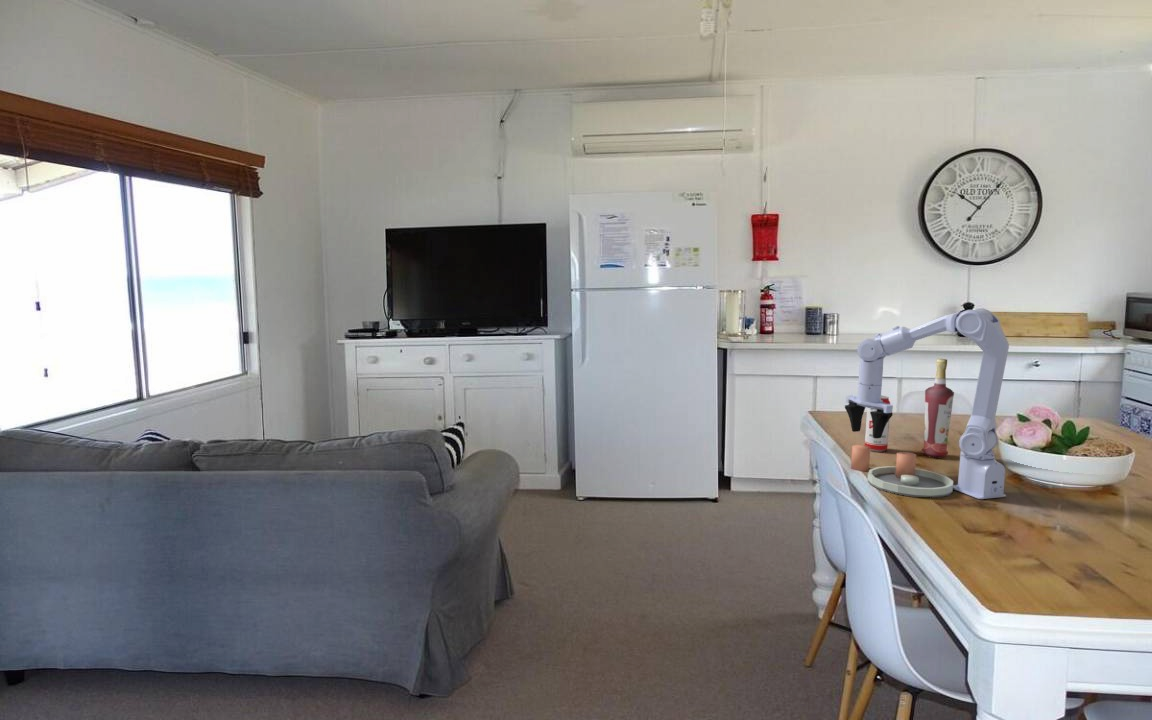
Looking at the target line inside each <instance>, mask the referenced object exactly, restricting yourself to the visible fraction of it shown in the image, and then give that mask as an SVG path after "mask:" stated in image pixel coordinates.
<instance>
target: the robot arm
mask: <svg viewBox="0 0 1152 720" xmlns="http://www.w3.org/2000/svg"><path fill="white" fill-rule="evenodd" d="M943 332H944V333H945V332H950V333H960V334H961V335H963V336H964V337H965V338H967V339H969V340H971V341H973V342H974V343H975V344H976V345H977V346H978V348H980V350H982V357H981V362H980V367H979V373H978V378H977V381H976V382H977V384H976V387H975V388H976V389H975V393H974V399H973V403H972V404H973V405H972V409H971V415H970V417H969V419H968V421H967V424H966V428H965V431H964V432H963V434H961V436H960V438H959V439H958V440H959V441H958V445H959V448H960V454H959V465H958V466H959V467H958V477H957V478H958V479H957V484H953V490H954V491H958V492H959V493H963V494H966V495H967V496H970V497H972V498H975V499H978V500H984V499H987V500H988V499H995V498H1005V497H1007V495H1006V494H1005V493H1004V491H1005V481H1006V480H1005V477H1006V469H1005V466H1004V465H1003V464H1002V463H1000V462H998V461H997V460H996V454H995V453H994V450H993V449H995V448H996V446H997V445H998V442H999V441H998V440H999V438H998V437H999V436H998V435H997V429H996V428H997V420H996V415H997V410H998V405H999V399H1000V396H1001V395H1000V394H1001V389H1002V384H1003V380H1004V379H1003V378H1004V373H1005V368H1006V364H1007V358H1008V353H1009V348H1010V347H1009V345H1010V344H1009V341H1008V339H1007V337H1006V334H1005V332H1004V331H1003V328H1002V326H1001V322H1000V319H999V317H997V316H996V315H995V314H994V313H992V312H991V311H990V310H988V309H986V308H977V309H967V310H966V309H965V310H964V311H960V312H955V313H951V314H946V315H943V316H941V317H938V318H936V319H933V320H931V321H928V322H925V323H924V324H921V325H918V326H915V327H913V328H908V327H905V326H901V327H900V326H899V325H898V326H897V325H896V326H894V327H892V330H890V331H888V332H885V333H882V334H881V333H876V334H875V335H874V337H873V338H865V339H864V340H862V341H861V342H860V343H859V344H858V346H857V349H856V350H857V354H858V356H859V358H860V359H859V369H858V383H857V385H858V387H857V395H846V397H845V403H846V405H844V409H845V411H846V413H847V416H848V419H849V422H850V428H851V431H852V432H853V433H857V432H860V431H861V428H862V420H863V417H864V412H865V409H867V408H871V409H875V410H877V411H872V412H870V414H871V417H872V422H873V438H881V436H882V433H883V431H884V428H885V426H886V424H887V422H888V421H889V422H890V420H891V418H892V417H893V414H894V413H893V408H894V406H893V404H890V405H889V404H887V403H884V402H883V400H881V395H882V387H883V373H884V358H885V357H888V356H892V355H895V354H897V353H900V352H903V351H906V350H909V349H912V348H914V347H913V346H914V345H915V343H916V342H917V341H918V340H922V339H925V338H928V337H931V336H934V335H937V334H940V333H943Z"/></svg>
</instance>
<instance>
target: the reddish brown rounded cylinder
mask: <svg viewBox="0 0 1152 720" xmlns="http://www.w3.org/2000/svg"><path fill="white" fill-rule="evenodd" d="M870 458H871V451H870V447H869V446H865V444H864V445H862V444H854V445H852V446H851V458H850V460H851V461H850V469H851V470H853V471H859V472H869V470H870Z"/></svg>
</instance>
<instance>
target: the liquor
mask: <svg viewBox="0 0 1152 720" xmlns="http://www.w3.org/2000/svg"><path fill="white" fill-rule="evenodd" d="M935 366H936V374H935V379H934V385H933V386H930V387H928V388H926V389H925V390H924V431H923V432H924V433H923V447H922V449H921V451H922V453H924V455H925V456H926V455H927V457H929V456H930V457H929V458H934V457H936V458H935V459H940V458H944V457H945V456H946V455H948V454H949V452H948V450H947V449H948V443H949V442H948V440H949V432H950V431H949V430H950V424H951V417H952V410H953V403H954V395H955V392H954V391H953V390H952V389H951V388H949V387H947V379H946V377H947V376H946V375H947V374H946V370H947V366H948V359H946V358H937V359H936V365H935Z"/></svg>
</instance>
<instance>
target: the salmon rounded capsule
mask: <svg viewBox="0 0 1152 720" xmlns="http://www.w3.org/2000/svg"><path fill="white" fill-rule="evenodd" d="M916 465H917V454H915V453H913V452H909V451H907V452H906V451H899V452H896V462H895V466H896V474H895V476H896V477H897V478H900V479H901V475H913V476H915V468H916Z"/></svg>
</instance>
